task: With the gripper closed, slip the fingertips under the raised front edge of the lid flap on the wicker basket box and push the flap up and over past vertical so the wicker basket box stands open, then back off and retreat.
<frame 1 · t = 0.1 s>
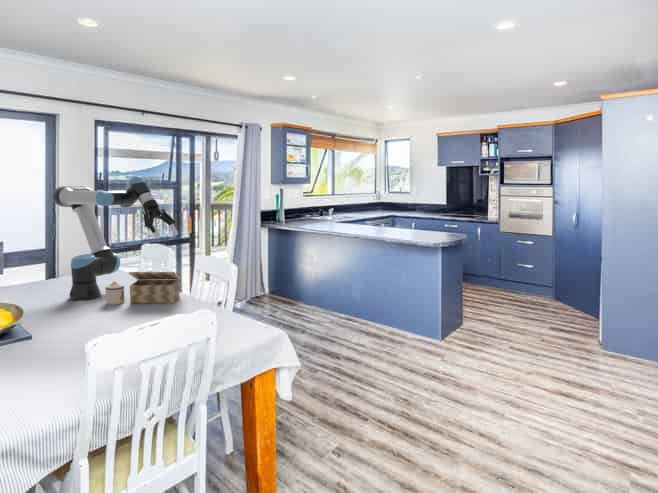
hand: (167, 236, 227), 36 cm above the table, tool tilted 35°, fingers open, 13 cm apart
lid flap: (155, 275, 233), point 14 cm above the table, hinge at 25.0°
wicker basket box: (155, 300, 234), on the table
teacup with lid: (115, 302, 229), on the table
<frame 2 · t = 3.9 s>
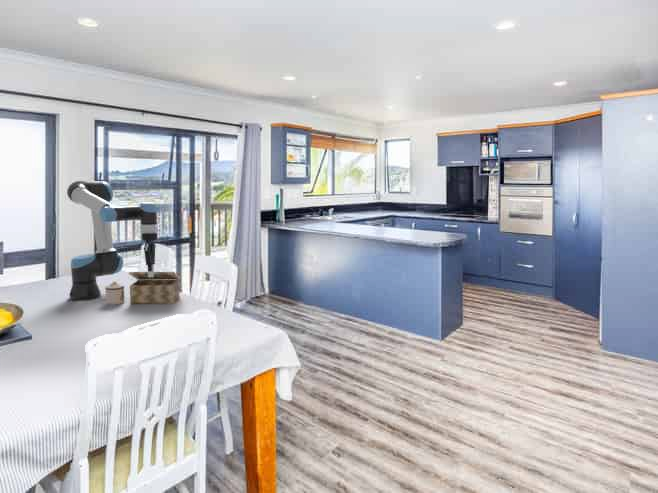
hand: (151, 276, 225), 15 cm above the table, tool pointing down, fingers closed
lid flap: (155, 275, 233), point 14 cm above the table, hinge at 25.0°, touching gripper
everything else where it was.
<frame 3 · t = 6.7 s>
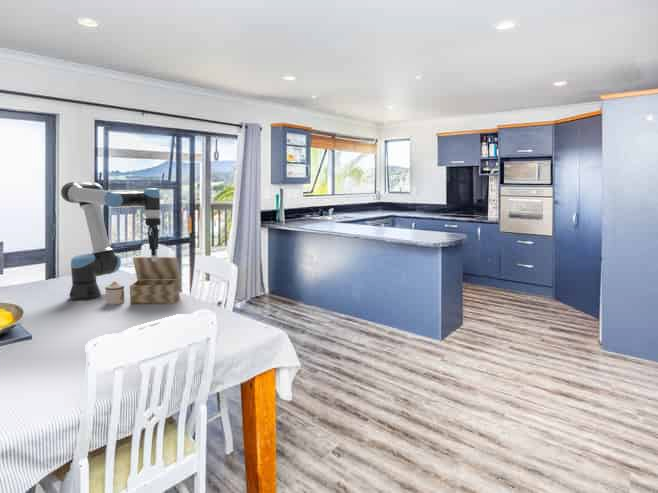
hand: (154, 261, 232), 22 cm above the table, tool pointing down, fingers closed
lid flap: (157, 268, 236), point 17 cm above the table, hinge at 66.3°, touching gripper
everything else where it was.
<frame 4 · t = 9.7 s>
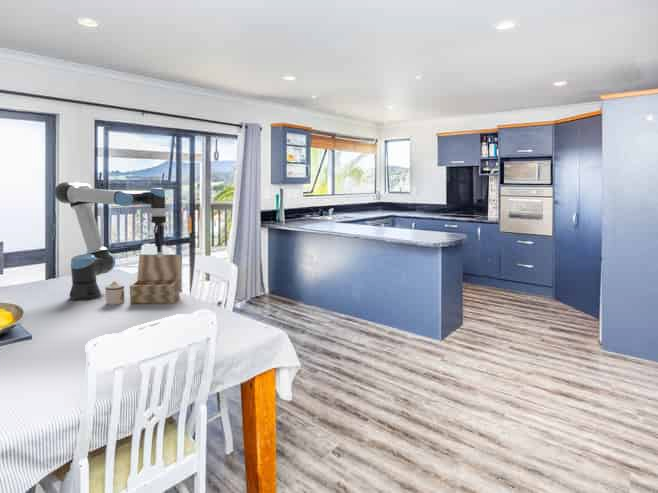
hand: (160, 257, 242), 22 cm above the table, tool pointing down, fingers closed
lid flap: (159, 267, 242), point 16 cm above the table, hinge at 112.7°, touching gripper
everything else where it was.
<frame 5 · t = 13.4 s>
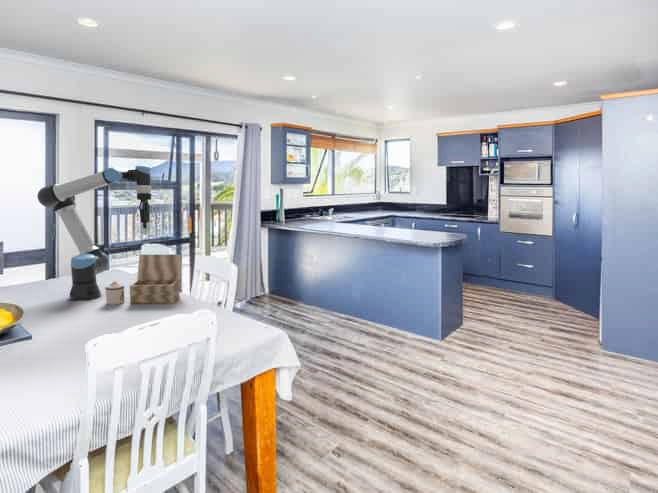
hand: (145, 233, 248), 34 cm above the table, tool pointing down, fingers closed
lid flap: (159, 267, 242), point 16 cm above the table, hinge at 112.7°
everything else where it was.
at the end: lid flap at +113° (first picture: +25°); the gripper is holding nothing; teacup with lid moved 0.2 cm from its start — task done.
